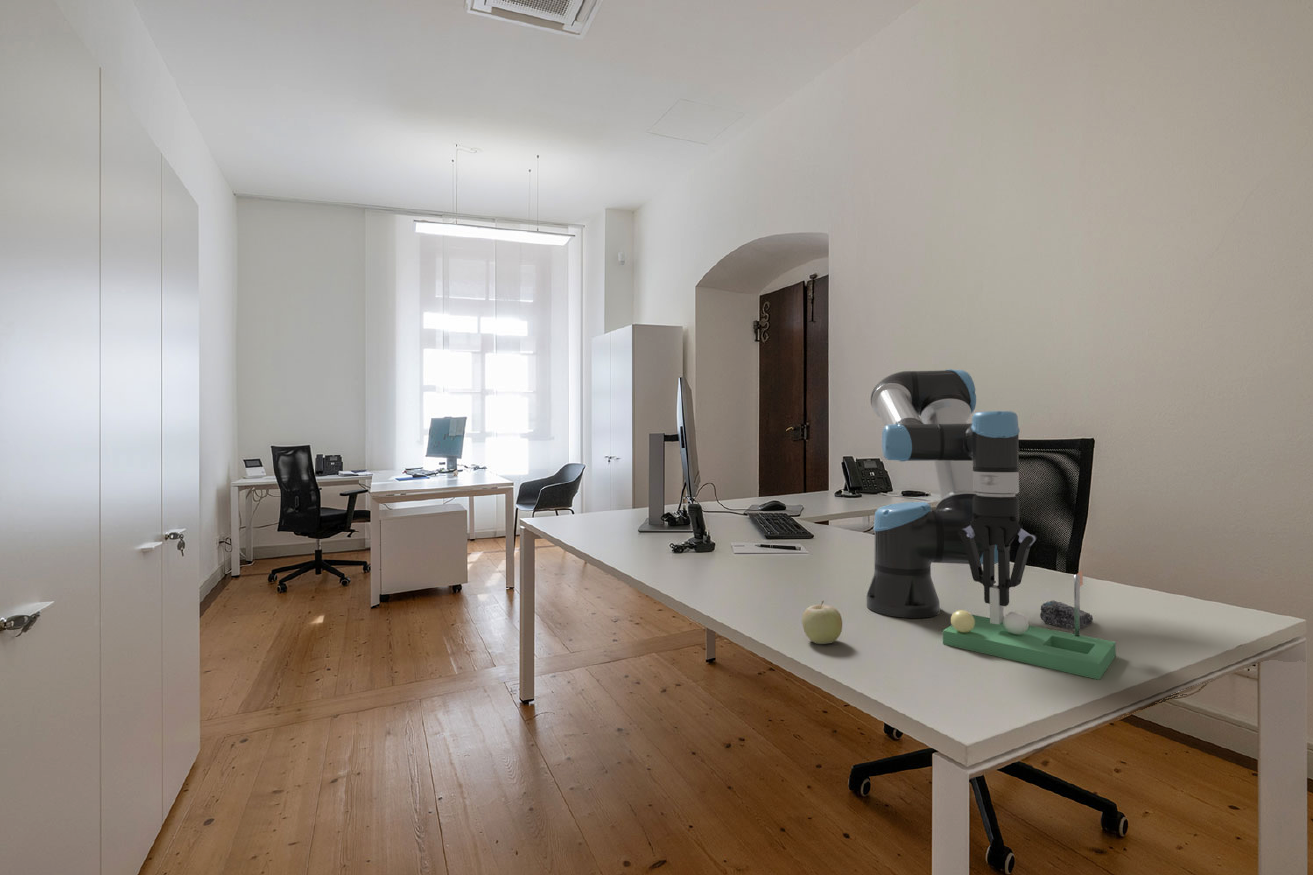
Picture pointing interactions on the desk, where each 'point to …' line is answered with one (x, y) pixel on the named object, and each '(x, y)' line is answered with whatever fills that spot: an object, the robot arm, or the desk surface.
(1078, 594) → the pin
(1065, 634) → the green board with hole
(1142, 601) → the desk surface
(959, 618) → the ball
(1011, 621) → the ball
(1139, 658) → the desk surface
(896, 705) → the desk surface
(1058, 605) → the rock
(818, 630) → the fruit
